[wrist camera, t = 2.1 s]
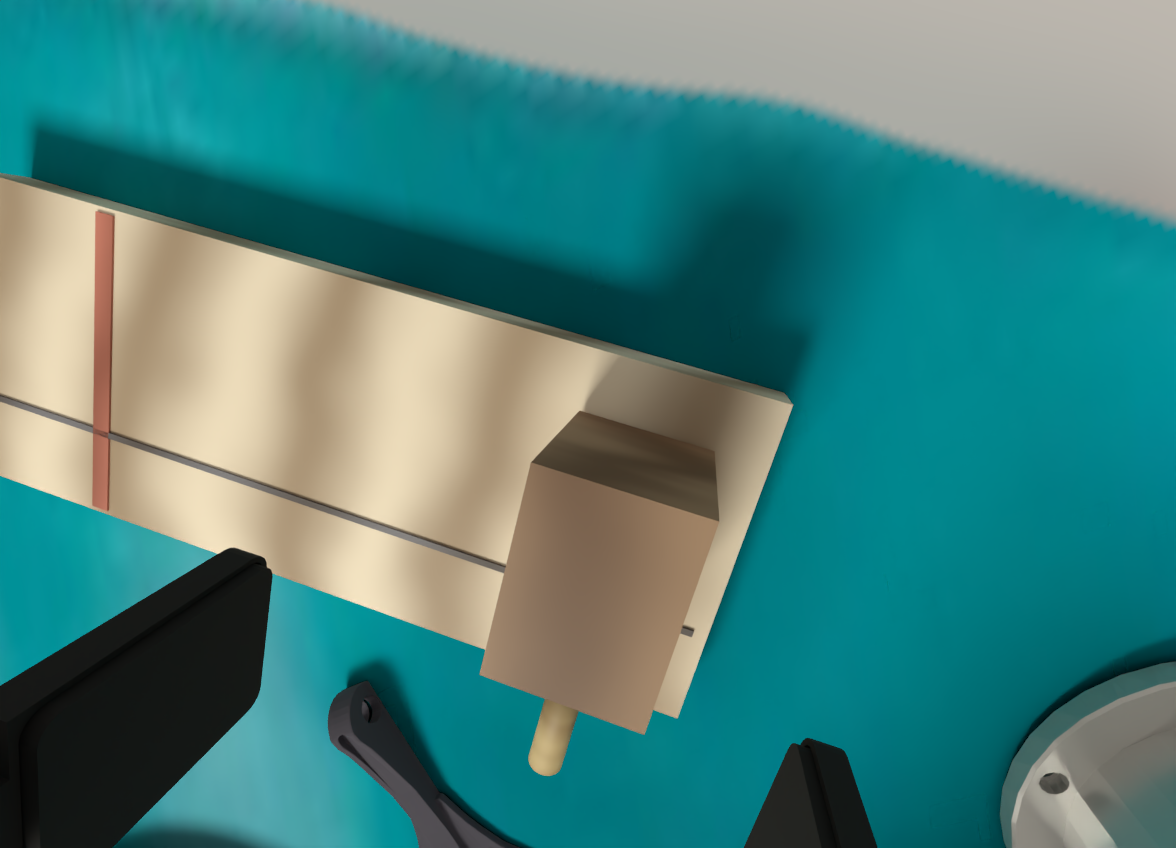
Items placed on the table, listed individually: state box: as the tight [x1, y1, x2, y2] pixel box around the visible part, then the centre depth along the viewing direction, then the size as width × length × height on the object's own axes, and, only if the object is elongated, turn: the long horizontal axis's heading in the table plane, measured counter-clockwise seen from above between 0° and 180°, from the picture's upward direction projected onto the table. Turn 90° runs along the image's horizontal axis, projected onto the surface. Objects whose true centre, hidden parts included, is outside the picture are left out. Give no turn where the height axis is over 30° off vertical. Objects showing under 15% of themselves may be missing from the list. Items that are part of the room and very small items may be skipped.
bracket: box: [328, 681, 519, 848], centre depth 26 cm, size 14×15×3 cm
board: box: [0, 173, 793, 718], centre depth 22 cm, size 30×12×2 cm, turn 76°
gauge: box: [480, 411, 719, 776], centre depth 17 cm, size 4×9×6 cm, turn 166°
